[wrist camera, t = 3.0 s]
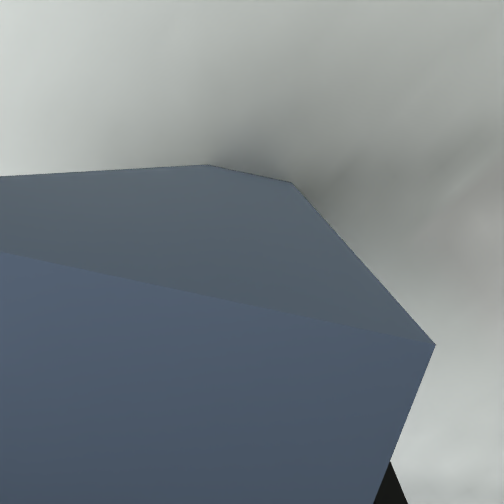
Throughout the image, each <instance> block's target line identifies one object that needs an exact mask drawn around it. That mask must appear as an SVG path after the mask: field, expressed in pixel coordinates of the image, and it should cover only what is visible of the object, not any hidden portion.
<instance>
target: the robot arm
mask: <svg viewBox="0 0 504 504" xmlns="http://www.w3.org/2000/svg"><path fill="white" fill-rule="evenodd" d="M373 504H408V503H407V501H406V498H405V496H404V493H403V491H402V489H401V486H400V484H399V481H398V479H397V477H396V474H395V472H394V469H393V467H392V464H391V462H389V464H388V467H387V469H386V472H385V474H384V477H383V480H382V482H381V485H380V487H379V490H378V492H377V495H376V497H375V500H374V502H373Z"/></svg>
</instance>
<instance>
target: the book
mask: <svg viewBox="0 0 504 504" xmlns="http://www.w3.org/2000/svg"><path fill="white" fill-rule="evenodd" d="M435 345H436V344H435V343H434V342H433V341H432V340H431V339H430V338H429V337H428V335H427V334H426V333H425V332H424V331H423V330H422V329H421V328H420V326H419V325H418V324H417V323H416V322H415V321H414V320H413V319H412V317H411V316H410V315H409V314H408V313H407V312H406V311H405V310H404V308H403V307H402V306H401V305H400V304H399V303H398V302H397V301H396V300H395V298H394V297H393V296H392V295H391V294H390V293H389V292H388V291H387V289H386V288H385V287H384V286H383V285H382V284H381V283H380V282H379V280H378V279H377V278H376V277H375V276H374V275H373V274H372V273H371V271H370V270H369V269H368V268H367V267H366V266H365V265H364V264H363V262H362V261H361V260H360V259H359V258H358V257H357V256H356V255H355V253H354V252H353V251H352V250H351V249H350V248H349V247H348V246H347V245H346V243H345V242H344V241H343V240H342V239H341V238H340V237H339V236H338V234H337V233H336V232H335V231H334V230H333V229H332V228H331V227H330V225H329V224H328V223H327V222H326V221H325V220H324V219H323V218H322V216H321V215H320V214H319V213H318V212H317V211H316V210H315V209H314V207H313V206H312V205H311V204H310V203H309V202H308V201H307V200H306V198H305V197H304V196H303V195H302V194H301V193H300V192H299V191H298V189H297V188H296V187H295V186H294V185H293V184H292V183H291V182H286V181H281V180H277V179H272V178H267V177H263V176H258V175H253V174H248V173H244V172H239V171H234V170H230V169H225V168H220V167H216V166H211V165H193V166H176V167H158V168H140V169H123V170H105V171H88V172H70V173H52V174H35V175H17V176H0V504H373V502H374V500H375V497H376V495H377V492H378V490H379V487H380V485H381V482H382V480H383V477H384V474H385V472H386V469H387V467H388V464H389V462H390V459H391V457H392V454H393V452H394V449H395V447H396V444H397V442H398V439H399V437H400V434H401V431H402V429H403V426H404V424H405V421H406V419H407V416H408V414H409V411H410V409H411V406H412V404H413V401H414V399H415V396H416V393H417V391H418V388H419V386H420V383H421V381H422V378H423V376H424V373H425V371H426V368H427V366H428V363H429V361H430V358H431V356H432V353H433V350H434V348H435Z"/></svg>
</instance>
